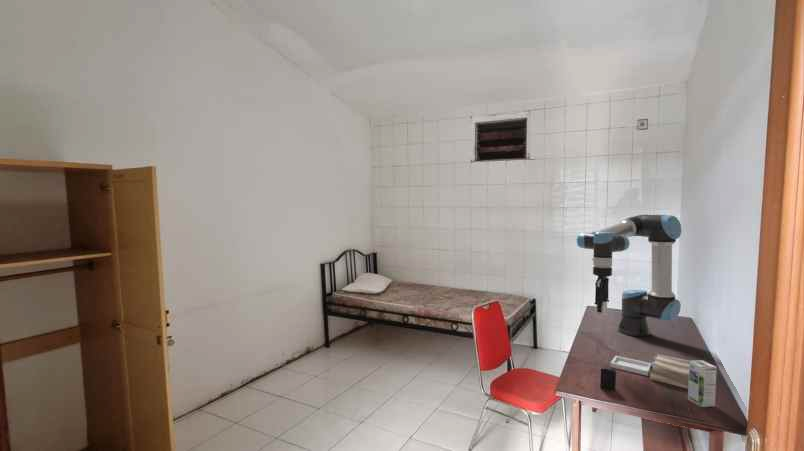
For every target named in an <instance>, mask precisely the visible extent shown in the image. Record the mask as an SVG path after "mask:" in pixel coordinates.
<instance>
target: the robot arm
mask: <svg viewBox="0 0 804 451" xmlns="http://www.w3.org/2000/svg"><path fill="white" fill-rule="evenodd" d="M681 234H682V224H681V222H680V220H679V219H678V217H677V216H675V215H672V214H671V215H670V214H669V215H668V214H639V215H635V216H630V217H627V218H624V219H622V220H620V221H619V223H616V224H613V225H610V226H608V227H605V228H601V229H598V230H596V231H592V232H588V233H587V232H583V233H579V234H578V235H577V238H576V244H577V246H578V247H579V248H581V249H585V250H587V249H588V250H593V258H591V260H592V261H593V268H592V275H594V276H597V279H596V281H595V291H594V292H595V295H594V296H595V297H594V305H596V308H595V309H596V310H595V311H596V312H595V313H596V314H595V318H596V319H597V320H602V321H603V320H604V317H608V316H607V315H608V303H609V302H610V299H609V281H610V279H609V277H612V275H613V268H612V266H613V253H615V252H616V253H618V252H623V251H626V250H627V249H629V248H630V244H631V243H630V239H629V238H631V237H645V238H647V239H648V240H647V241H648V242H649V243H650V244H651V289H650V290H649V292H648V291H647V290H645V289H627V290H624V291H623V292H622V293H621V317H620V320H619V322H618V325H617V331H618V332H620V334H624V335H627V336H633V337H647V336H650V334H651V329H650V327H649V324H648V320H647V318H652V319H656V320H659V321H665V322H673V321H675V320H676V319H677V318H678V316H679V314H680V312H681V306H682V305H681V301H680V300H678V299H676V294H675V293H674V292H673V290H672V289H673V287H672V286H673V285H672V284H673V282H672V281H673V273H672V272H673V245H674V244H675V243H676V240H677V239H679V238H680V237H681Z"/></svg>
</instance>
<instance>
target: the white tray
mask: <svg viewBox="0 0 804 451" xmlns="http://www.w3.org/2000/svg"><path fill="white" fill-rule="evenodd" d="M651 363H652V362H647V361H641V360H638V359H633V358H628V357H624V356H619V355H615V356H614V357H613V359H612V360H611V361H610V365H609V368H613V369H615V370H616V369H617V370H621V371H626V372H628V373H629V372H630V373H633V374H638V375H643V376H646V377H649V376H650V365H651Z"/></svg>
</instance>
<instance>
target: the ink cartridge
mask: <svg viewBox="0 0 804 451" xmlns="http://www.w3.org/2000/svg"><path fill="white" fill-rule="evenodd" d="M599 383H600V384H599V385H600V386H599V387H600V388H601V389H603V390H607V391H611V392H615V390H616V388H617V386H616V384H617V370H616V368H612V367H607V366H601V368H600V382H599Z"/></svg>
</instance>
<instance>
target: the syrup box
mask: <svg viewBox="0 0 804 451" xmlns="http://www.w3.org/2000/svg"><path fill="white" fill-rule="evenodd" d="M688 361H689V384H688V388H687V400H688V401H690V402H692V403H693V404H695V405H696V406H698V407H699V408H707V407H708V408H709V407H710V406H711V407H715V406H716V394H717V393H716V391H717V390H716V389H717V365H716V366H715V365H713V364H711V363H709V362H707V361H705V360H701V359H700V360H699V359H697V360H696V359H694V360H688ZM711 407H710V408H711Z"/></svg>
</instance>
